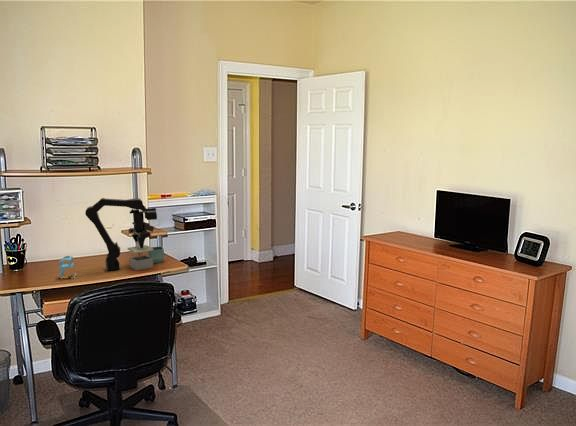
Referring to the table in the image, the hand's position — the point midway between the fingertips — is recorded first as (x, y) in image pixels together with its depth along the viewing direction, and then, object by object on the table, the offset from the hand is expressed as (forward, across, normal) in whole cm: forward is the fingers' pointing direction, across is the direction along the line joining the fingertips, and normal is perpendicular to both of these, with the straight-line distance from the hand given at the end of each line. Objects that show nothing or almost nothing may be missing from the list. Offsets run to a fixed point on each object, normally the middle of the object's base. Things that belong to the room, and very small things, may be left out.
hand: (140, 247), depth 298 cm
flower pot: (+13, +6, -12) cm, 18 cm away
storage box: (+12, 0, 0) cm, 12 cm away
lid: (+2, 0, 0) cm, 2 cm away
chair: (+13, +8, +39) cm, 42 cm away
